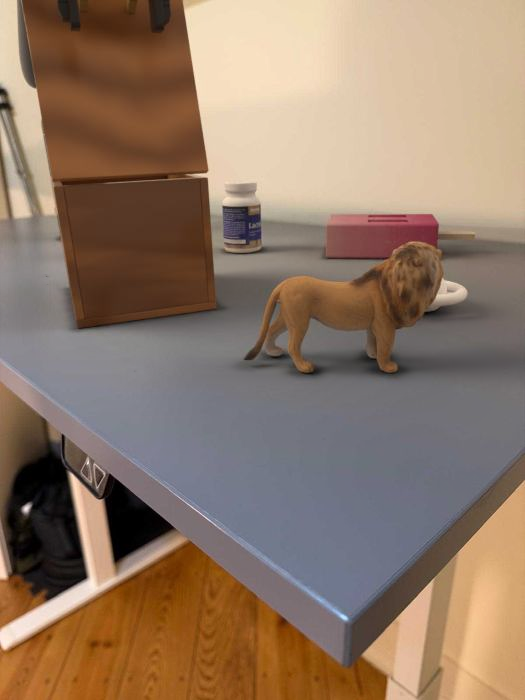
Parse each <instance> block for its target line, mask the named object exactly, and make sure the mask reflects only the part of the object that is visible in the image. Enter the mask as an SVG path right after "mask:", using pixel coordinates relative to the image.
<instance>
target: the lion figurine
mask: <svg viewBox="0 0 525 700" xmlns="http://www.w3.org/2000/svg"><path fill="white" fill-rule="evenodd" d="M441 260H442V250H441V249H439V248H437V249H436V248H435V247H434V246H432V245H429V244H426V243H423V242H416V241H411V242H408V243H407V244H404V245H402V246H400V247H399V248H398V249H395V250H394V251H393V253H392V255H391V257H390V258H389V259H384V260H383V261H382V262H381V263H378V264H375V265H373V266H372V267H370V268H369V270H368V271H366V272H364V273H363V274H362V275H361V276H360V277H357V278H355V279H353V280H351V281H329V280H324V279H320V278H316V277H312V276H308V275H306V276H305V275H301V276H300V275H299V276H293V277H290V278H287V279H285V280H283V281H282V282H280V283H279V284H278V285H277V286H276V287H275V288H274V289H273V290H272V292H271V294H270V296H269V298H268V300H267V302H266V305H265V310H264V312H263V317H262V323H261V327H260V331H259V336H258V339H257V340H256V341H257V342H256V343H255V345H254V346H253V348H251V349H250V350H249V351H248V352H247V353H246V355H244V356H243V358H242V360H243V361H252V360H254V359H256V357H258V355H259V354H260V352H261V351H262V349H263V347H264V351H265V354H267V355H268V356H271V357H279V356H282V354H283V348H282V347H280V346H277V345H276V340H277V339H278V338H279V337H280V335H282V334H284V333H285V332H288V337H289V338H288V339H289V340H288V343H287V347H286V349H287V352H288V354H289V356H290V358H291V359H292V361H293V363H294V365H295V367H296V369H297V370H298V371H300V372H301V373H306V374H309V373H312V372H314V371H315V364H314V362H312V361H311V360H307V359H305V358H304V356H303V354H302V344H303V341H304V340H305V337H306V335H307V332H308V329H309V327H310V321H311V319H314V320H316V322H318V323H320V324H322V325H323V326H325V327H327V328H329V329H333V330H335V331H340V332H357V331H364V330H365V331H366V344H365V352H366V355H367V356H368V357H369V358H371V359H374V360H376V361H377V363H378V367H379V369H380V370H381V371H382V372H385V373H388V374H393V373H395V372H397V371H398V368H399V367H398V364H397V363H396V362H394V361H391V354H392V352H393V348H394V344H395V339H396V330H401V329H404V328H411V327H414V326H415V325H416V324H417V323H418V322H420V321H421V320H422V318H423V316H424V314H425V313H426V312H425V310H426V309H428V308H429V306H430V305H431V304H432V303H433V302H434V300H435V299H436V296H437V293H438V291H439V288H440V285H441V281H442V277H443V278H444V269H443V266H442V263H441ZM277 304H280V308H279V312H278V314H277V316H276V319H275V320H274V321H273V322H272V323H271V321H272V319H273V315H274V313H275V309H276V306H277Z"/></svg>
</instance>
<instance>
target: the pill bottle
mask: <svg viewBox="0 0 525 700" xmlns="http://www.w3.org/2000/svg"><path fill="white" fill-rule="evenodd" d="M257 183H258V182H257V181H249V180H248V181H247V180H246V181H244V180H243V181H238V180H237V181H225V182H224V191H225V193H226V197H225V198H223V200H222V206H221V207H222V229H223V247H224V250H225V252H228V253H233V254H250V253H255V252H258V251H260V250H261V249H262V247H263V246H262V243H263V241H262V209H261V208H262V207H261V204H262V203H261V200H260V198H259V197H258V196H257V195H256V192H257V191H258V184H257Z"/></svg>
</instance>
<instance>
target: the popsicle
mask: <svg viewBox="0 0 525 700" xmlns="http://www.w3.org/2000/svg"><path fill="white" fill-rule="evenodd" d="M325 226H326V227H325V228H326V233H325V258H326V259H361V260H362V259H367V260H368V259H369V260H371V259H373V260H381V259H383V260H387V259H389V258H390V257H391V255H392V253H393V251H394V250H395V249H398V248H399V247H400V246H402V245H404V244H407V243H408V242H411V241H416V242H423V243H426V244H429V245H432V246H434V247H435V248H436V249H438V240H439V241H473V240H475V239H476V232H475V231H473V230H471V231H470V230H468V231H465V230H454V231H453V230H439V228H440V224H439V222H438V220H437V219H436V217H435V216H434V215H433V213H361V214H360V213H349V214H348V213H347V214H346V213H345V214H344V213H343V214H342V213H341V214H340V213H336V214H335V213H333V214H331V215H330V217H329V219H328V220H327V221H326V225H325Z"/></svg>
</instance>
